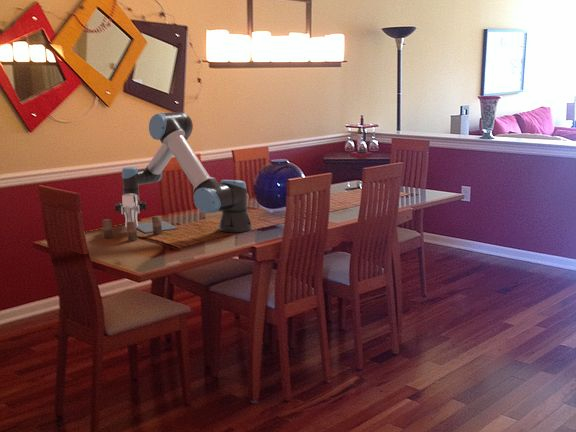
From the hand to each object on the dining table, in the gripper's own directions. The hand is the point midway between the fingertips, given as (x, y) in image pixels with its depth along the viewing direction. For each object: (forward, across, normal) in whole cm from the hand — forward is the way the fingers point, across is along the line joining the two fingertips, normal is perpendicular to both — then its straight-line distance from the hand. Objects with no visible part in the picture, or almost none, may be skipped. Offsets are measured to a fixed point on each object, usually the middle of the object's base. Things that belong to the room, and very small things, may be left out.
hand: (130, 210), depth 319 cm
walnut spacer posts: (+2, -1, -12) cm, 12 cm away
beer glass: (-5, 0, -8) cm, 10 cm away
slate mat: (-15, -10, -12) cm, 22 cm away
